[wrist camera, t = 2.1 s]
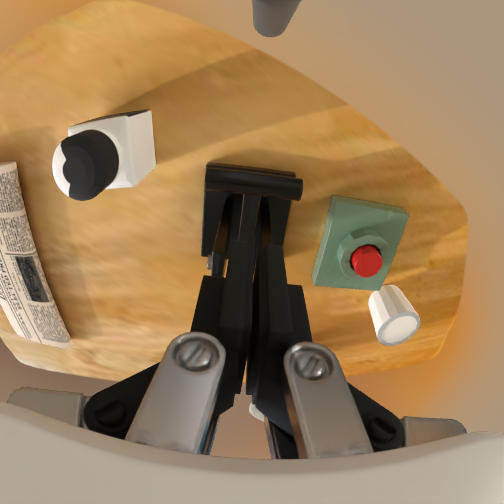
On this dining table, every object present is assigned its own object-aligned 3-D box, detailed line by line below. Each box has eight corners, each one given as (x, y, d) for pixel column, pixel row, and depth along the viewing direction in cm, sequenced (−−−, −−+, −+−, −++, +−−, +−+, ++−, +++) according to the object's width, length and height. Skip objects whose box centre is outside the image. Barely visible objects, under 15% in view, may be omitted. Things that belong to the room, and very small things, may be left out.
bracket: (207, 162, 33) (182, 205, 22) (294, 172, 33) (314, 220, 22) (202, 251, 39) (183, 320, 28) (278, 259, 40) (285, 330, 29)
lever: (209, 158, 18) (202, 183, 17) (302, 169, 19) (304, 195, 17) (210, 258, 29) (206, 280, 27) (272, 265, 29) (271, 287, 28)
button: (355, 242, 34) (360, 250, 32) (382, 246, 34) (386, 254, 33) (347, 268, 36) (351, 276, 34) (372, 270, 36) (377, 278, 34)
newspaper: (75, 341, 51) (70, 351, 48) (13, 325, 50) (8, 333, 48) (20, 159, 31) (8, 165, 29) (-41, 171, 31) (-51, 177, 29)
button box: (332, 194, 35) (340, 207, 31) (402, 207, 35) (415, 221, 32) (311, 275, 41) (315, 294, 37) (374, 281, 41) (383, 299, 38)
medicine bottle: (152, 108, 29) (103, 123, 19) (157, 167, 33) (115, 207, 23) (98, 117, 29) (37, 138, 19) (105, 172, 33) (52, 212, 23)
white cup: (409, 280, 41) (427, 310, 35) (396, 313, 45) (410, 344, 39) (370, 281, 41) (385, 313, 35) (359, 315, 45) (371, 348, 39)
